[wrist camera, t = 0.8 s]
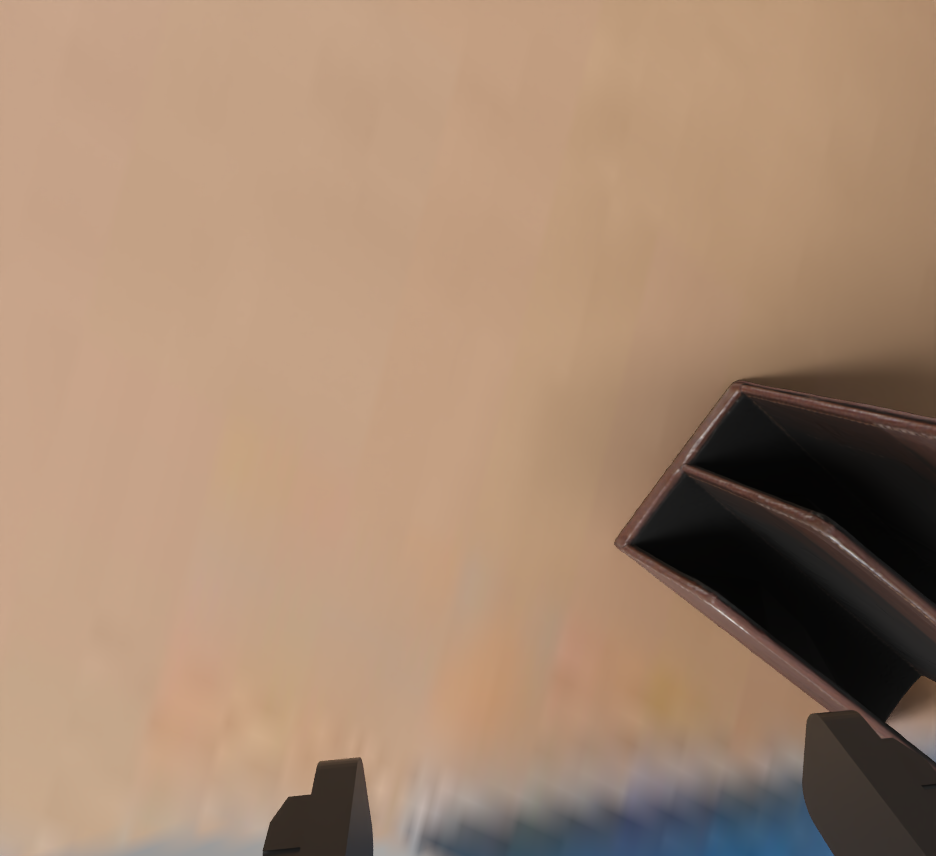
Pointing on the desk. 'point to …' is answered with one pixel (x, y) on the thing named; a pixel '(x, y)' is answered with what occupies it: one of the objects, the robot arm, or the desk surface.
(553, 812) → the desk surface
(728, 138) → the desk surface
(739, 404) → the letter holder
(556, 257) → the desk surface
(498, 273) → the desk surface
